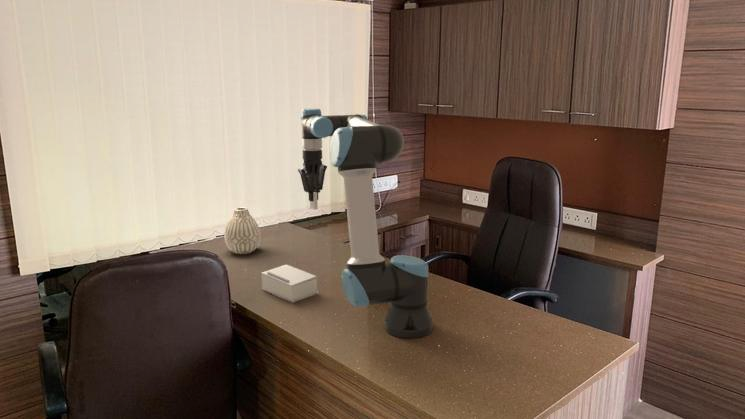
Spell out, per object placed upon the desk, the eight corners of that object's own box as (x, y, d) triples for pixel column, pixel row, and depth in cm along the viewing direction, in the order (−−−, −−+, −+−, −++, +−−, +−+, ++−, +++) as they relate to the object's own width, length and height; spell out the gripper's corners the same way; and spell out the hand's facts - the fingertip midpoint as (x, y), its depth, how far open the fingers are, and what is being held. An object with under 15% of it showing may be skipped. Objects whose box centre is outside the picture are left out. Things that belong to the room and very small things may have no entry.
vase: (245, 243, 263) (242, 202, 258) (269, 250, 254) (266, 207, 249) (217, 252, 251) (214, 209, 246) (242, 259, 242) (239, 215, 237)
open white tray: (318, 293, 206) (317, 278, 204) (292, 303, 197) (291, 287, 196) (288, 280, 218) (287, 266, 216) (262, 289, 210) (261, 274, 208)
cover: (316, 277, 204) (316, 274, 204) (291, 287, 196) (291, 283, 196) (286, 265, 216) (286, 262, 216) (261, 274, 208) (261, 270, 208)
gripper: (318, 146, 222) (320, 204, 228) (292, 150, 213) (294, 210, 219) (331, 148, 217) (332, 207, 223) (305, 152, 208) (307, 213, 214)
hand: (313, 208), depth 221 cm, fingers closed
